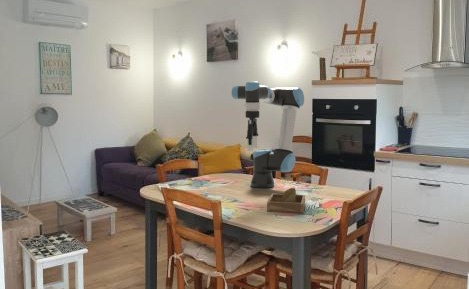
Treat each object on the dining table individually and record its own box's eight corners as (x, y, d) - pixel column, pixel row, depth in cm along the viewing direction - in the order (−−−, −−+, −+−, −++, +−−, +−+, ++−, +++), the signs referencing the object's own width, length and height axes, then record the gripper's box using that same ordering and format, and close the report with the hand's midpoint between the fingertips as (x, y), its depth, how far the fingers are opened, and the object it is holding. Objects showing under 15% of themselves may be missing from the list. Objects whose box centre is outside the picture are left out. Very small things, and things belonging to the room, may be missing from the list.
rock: (279, 205, 214) (298, 202, 214) (275, 189, 218) (294, 186, 218) (278, 213, 223) (296, 210, 224) (274, 198, 227) (292, 195, 228)
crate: (271, 202, 232) (271, 193, 231) (305, 204, 228) (305, 195, 227) (267, 211, 214) (267, 201, 214) (303, 213, 211) (303, 203, 210)
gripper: (249, 109, 244) (249, 146, 246) (241, 111, 220) (241, 152, 222) (262, 109, 242) (262, 146, 245) (255, 111, 218) (255, 152, 221)
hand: (252, 149), depth 233 cm, fingers open, 13 cm apart
